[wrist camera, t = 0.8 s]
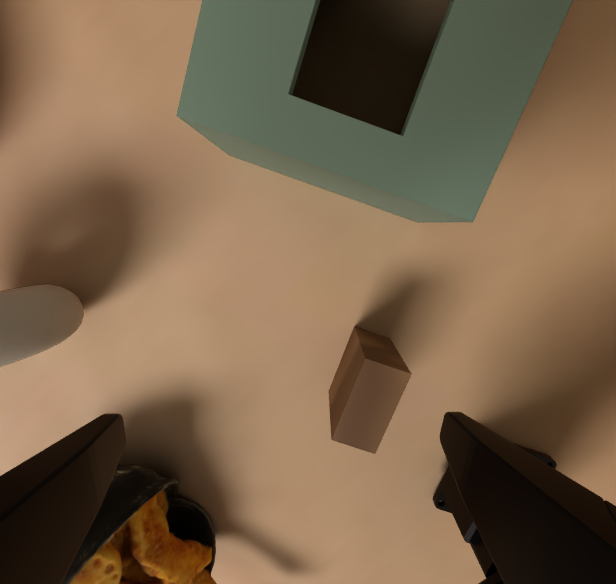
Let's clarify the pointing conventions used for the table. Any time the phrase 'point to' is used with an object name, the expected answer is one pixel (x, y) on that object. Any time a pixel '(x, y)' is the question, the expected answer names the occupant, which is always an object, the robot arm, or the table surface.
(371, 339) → the rectangular block
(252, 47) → the box
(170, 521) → the fried shrimp in bowl
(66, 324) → the donut
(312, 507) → the table surface
